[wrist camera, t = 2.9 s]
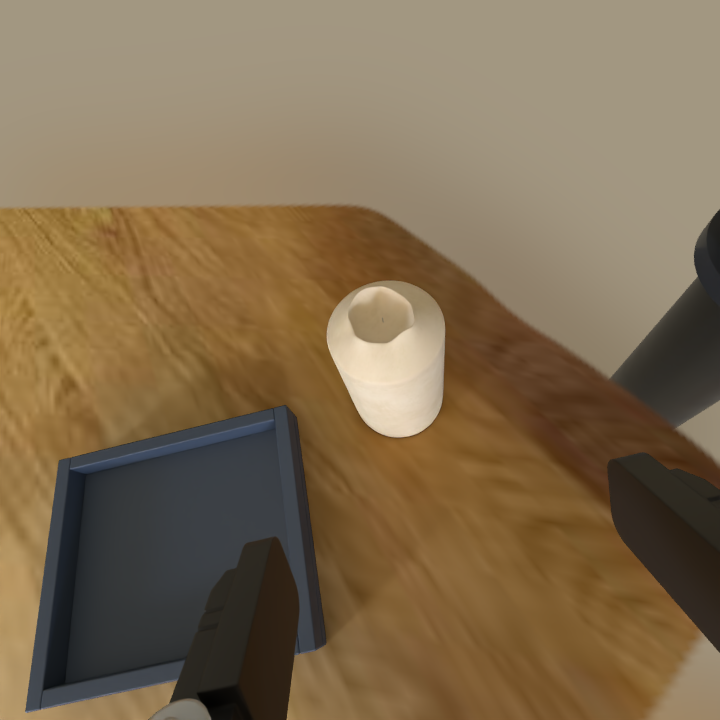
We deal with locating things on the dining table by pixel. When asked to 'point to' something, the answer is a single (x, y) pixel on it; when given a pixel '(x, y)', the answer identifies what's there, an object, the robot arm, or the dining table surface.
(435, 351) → the candle
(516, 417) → the dining table surface
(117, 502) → the tray
